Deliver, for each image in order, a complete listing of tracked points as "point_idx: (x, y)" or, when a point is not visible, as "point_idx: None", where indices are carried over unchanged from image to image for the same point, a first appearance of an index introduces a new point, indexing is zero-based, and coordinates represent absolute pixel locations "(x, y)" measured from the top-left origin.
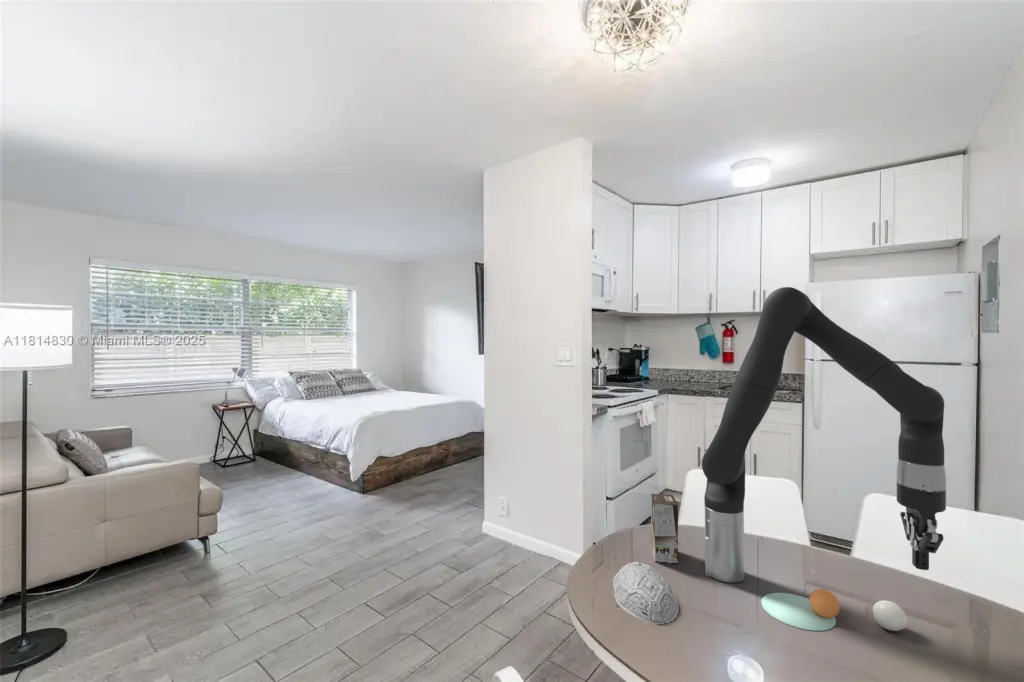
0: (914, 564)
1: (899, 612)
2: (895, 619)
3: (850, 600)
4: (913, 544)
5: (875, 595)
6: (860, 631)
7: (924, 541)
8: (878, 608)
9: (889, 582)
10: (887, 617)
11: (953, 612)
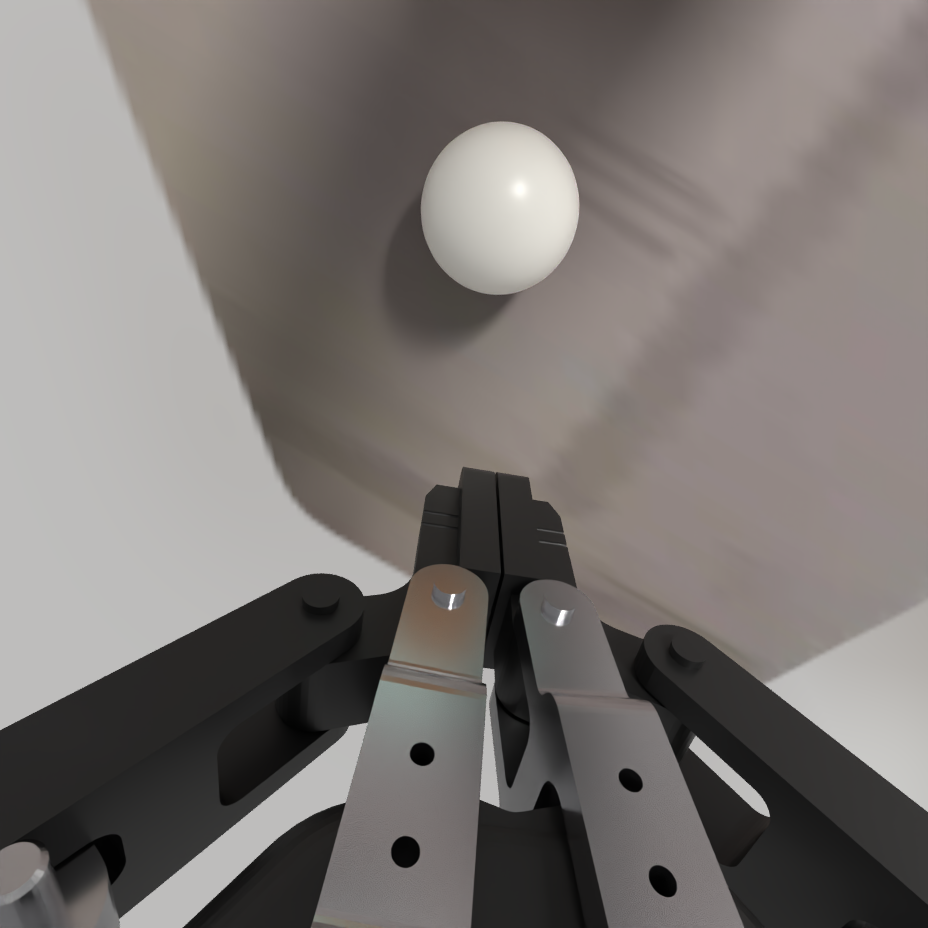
0: (480, 476)
1: (442, 243)
2: (421, 204)
3: (771, 133)
4: (518, 614)
5: (812, 317)
6: (439, 3)
7: (42, 726)
8: (486, 137)
9: (922, 457)
10: (434, 164)
11: (660, 558)
